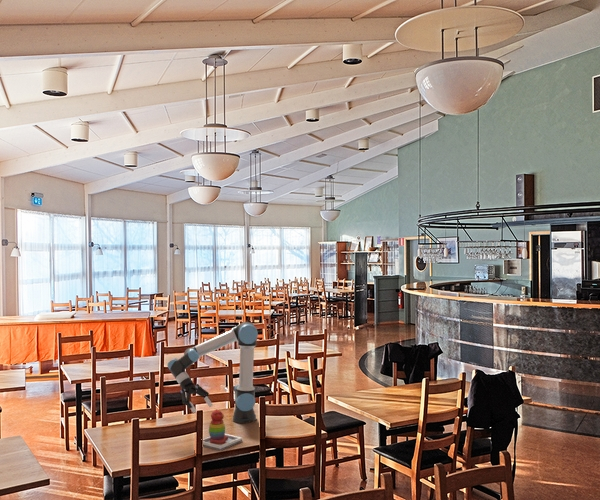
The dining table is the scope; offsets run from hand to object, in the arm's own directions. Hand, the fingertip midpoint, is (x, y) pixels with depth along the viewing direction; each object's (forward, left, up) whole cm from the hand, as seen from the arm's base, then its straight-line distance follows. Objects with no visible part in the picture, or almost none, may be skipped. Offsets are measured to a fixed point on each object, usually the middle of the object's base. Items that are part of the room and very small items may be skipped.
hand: (203, 408), depth 350 cm
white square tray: (+2, +16, -17) cm, 23 cm away
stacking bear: (+3, +14, -16) cm, 22 cm away
